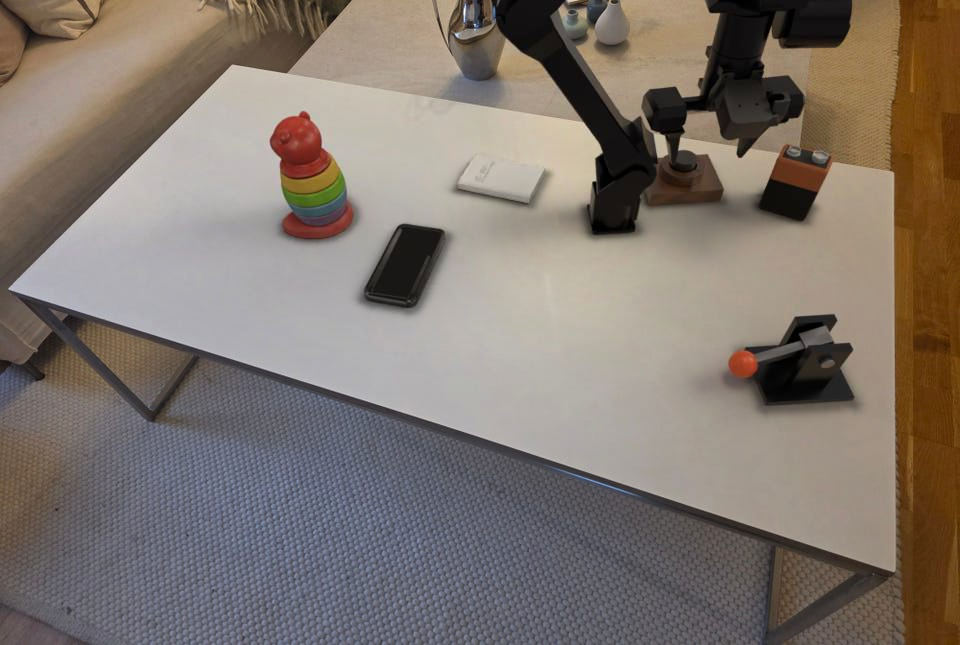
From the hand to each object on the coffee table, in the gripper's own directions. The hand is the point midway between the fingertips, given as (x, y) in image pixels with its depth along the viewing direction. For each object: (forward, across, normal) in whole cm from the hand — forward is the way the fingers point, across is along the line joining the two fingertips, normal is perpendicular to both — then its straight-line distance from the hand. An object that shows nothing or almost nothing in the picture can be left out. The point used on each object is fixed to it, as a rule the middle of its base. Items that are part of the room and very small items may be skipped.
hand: (705, 159), depth 80 cm
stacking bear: (+11, -56, +9) cm, 58 cm away
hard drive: (+11, -27, +14) cm, 32 cm away
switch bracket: (+11, +4, -29) cm, 31 cm away
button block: (+11, +1, +8) cm, 14 cm away
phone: (+11, -43, -4) cm, 44 cm away
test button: (+7, +1, +8) cm, 11 cm away
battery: (+11, +15, +1) cm, 19 cm away
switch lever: (+7, +1, -29) cm, 30 cm away
